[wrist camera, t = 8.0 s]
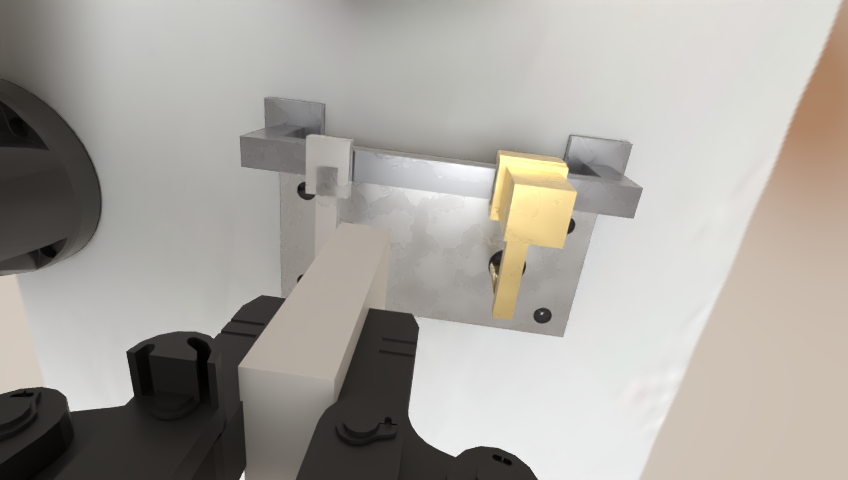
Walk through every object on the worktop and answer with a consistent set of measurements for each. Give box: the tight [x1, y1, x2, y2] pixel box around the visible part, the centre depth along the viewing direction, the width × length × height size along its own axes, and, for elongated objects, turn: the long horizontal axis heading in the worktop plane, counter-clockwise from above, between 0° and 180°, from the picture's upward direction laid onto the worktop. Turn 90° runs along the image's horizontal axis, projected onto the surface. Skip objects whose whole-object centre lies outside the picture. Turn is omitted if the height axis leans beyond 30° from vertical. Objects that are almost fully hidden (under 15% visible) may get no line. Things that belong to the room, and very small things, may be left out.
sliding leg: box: [487, 150, 577, 320], centre depth 26 cm, size 4×10×10 cm, turn 173°
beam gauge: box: [240, 97, 643, 258], centre depth 29 cm, size 25×10×8 cm, turn 84°
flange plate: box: [280, 172, 597, 337], centre depth 34 cm, size 23×11×1 cm, turn 84°
